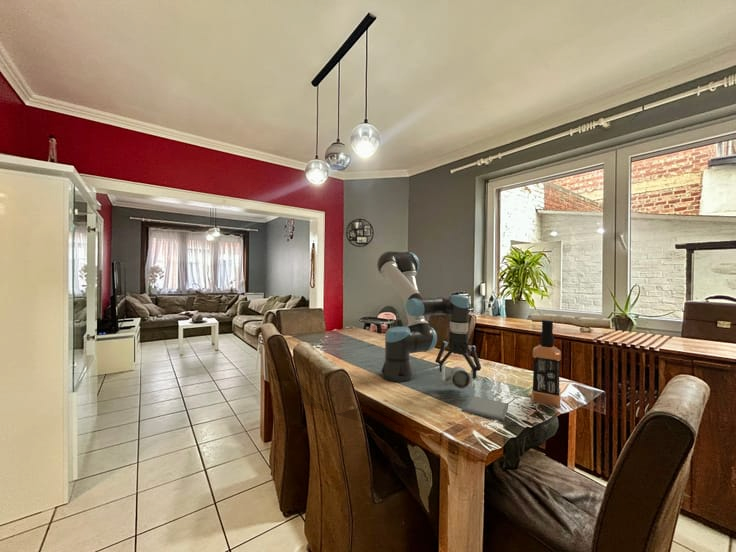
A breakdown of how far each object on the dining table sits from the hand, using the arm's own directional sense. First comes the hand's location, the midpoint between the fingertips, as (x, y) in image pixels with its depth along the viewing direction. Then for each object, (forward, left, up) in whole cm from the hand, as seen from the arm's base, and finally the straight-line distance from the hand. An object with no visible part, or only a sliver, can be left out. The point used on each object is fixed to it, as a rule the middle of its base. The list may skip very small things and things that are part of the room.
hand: (457, 382), depth 129 cm
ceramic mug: (0, 0, -1) cm, 1 cm away
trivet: (+13, -10, -4) cm, 17 cm away
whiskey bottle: (+32, +11, -4) cm, 34 cm away
